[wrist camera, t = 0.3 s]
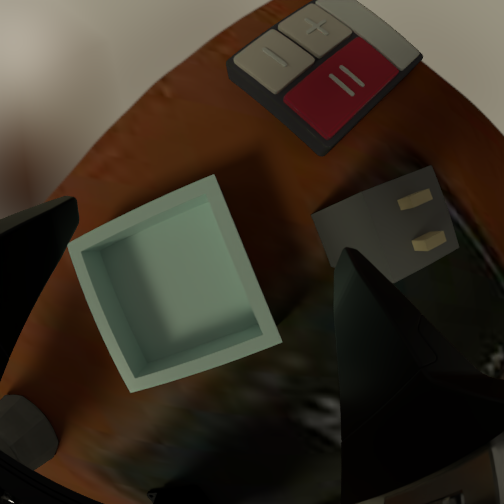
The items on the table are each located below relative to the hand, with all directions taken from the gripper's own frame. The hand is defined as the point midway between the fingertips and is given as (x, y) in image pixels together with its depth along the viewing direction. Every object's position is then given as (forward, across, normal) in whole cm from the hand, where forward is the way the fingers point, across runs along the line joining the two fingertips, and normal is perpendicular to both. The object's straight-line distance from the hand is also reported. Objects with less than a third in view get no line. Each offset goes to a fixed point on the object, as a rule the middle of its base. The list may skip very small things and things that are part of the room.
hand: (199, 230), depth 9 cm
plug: (+13, -9, +6) cm, 17 cm away
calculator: (+22, -6, -6) cm, 24 cm away
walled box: (+9, +3, +12) cm, 15 cm away
